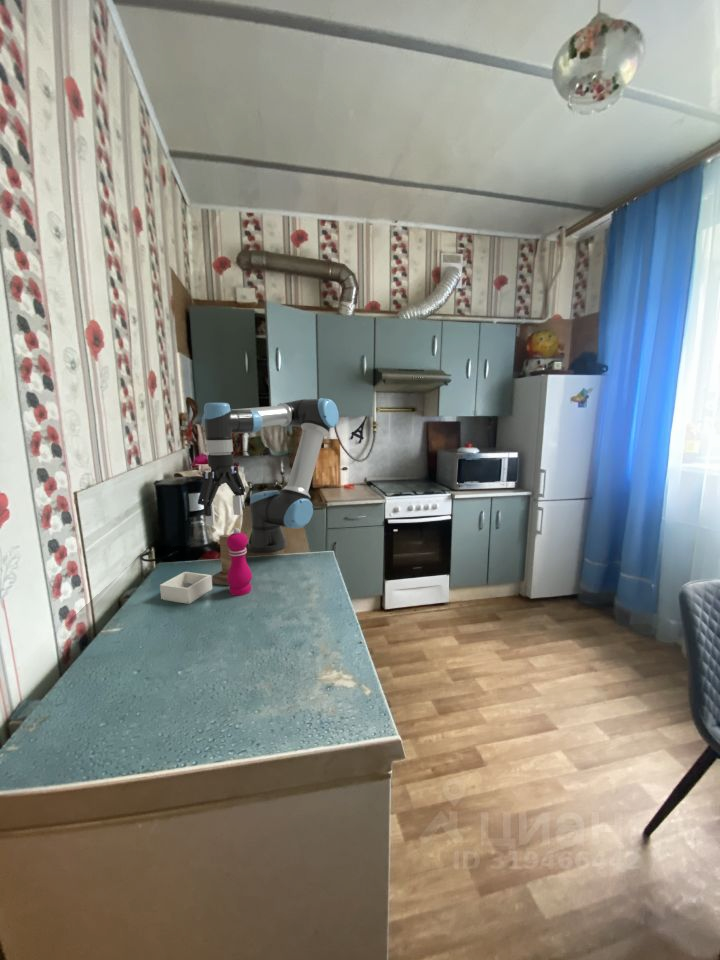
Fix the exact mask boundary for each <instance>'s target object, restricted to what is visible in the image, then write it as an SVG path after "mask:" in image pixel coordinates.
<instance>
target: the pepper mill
mask: <svg viewBox="0 0 720 960" xmlns="http://www.w3.org/2000/svg"><path fill="white" fill-rule="evenodd" d="M248 542H249V540H248V537H247V535H246V534H245V533H243V532H241V531H240V529H239V528H238V527H235V528H234V529H233V533H232V534H229V537H228V539H227V546H228V547H229V548H230V550H229V552H230V553H229V554H230V555H231V567H230V569H229V572H228V576H227V581H228V583H229V584H230V585H231V586H230V585H229V593H230V595H232V596H235V597H236V596H243V595H247V594H249V593H250V592H251V591H252V585H251V583H250V582H252V580H253V575H252V569H250V567H249V565H248V562H247V559H246V554H247V552H248V551H247V546H248Z"/></svg>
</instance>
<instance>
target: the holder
mask: <svg viewBox="0 0 720 960" xmlns="http://www.w3.org/2000/svg"><path fill="white" fill-rule="evenodd" d="M227 576H228V575H227V574H222V570H220V571H218V572H216V573H215V574H213V575H212V584H216V583H217V584H216V585H225V586H229V587H230V586H231V585H230V584H229V583H228V581H227Z"/></svg>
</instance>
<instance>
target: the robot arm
mask: <svg viewBox="0 0 720 960" xmlns="http://www.w3.org/2000/svg"><path fill="white" fill-rule="evenodd" d="M230 406H231V405H230V404H229V403H228V402H207V403H205V404H204V407H203V415H202V417H201V425H202V427H203V429H204V431H205V440H206V452H207V453H208V455H207V457H206V458H207V466H208V467H209V468H210V471H203V477H202V483H201V488H200V492H199V496H198V499H197V505H200V506H203V514H204V517H205V526H206V527H215V526H216V516H215V505H214V504H213V502H214V499H215V496H216V495H217V492H218V490H219V487H221V486H222V485H223V484H226V485H227V486H228V488H229V490H231V492H232V493H233V495H232V507H233V515H234V516H242V515H243V509H242V508H243V507H242V503H243V502H242V496H245V492H246V489H245V485H244V483H243V481H242V478H241V475H240V473H239V467H238V466H234V465H235V464H234V463H235V462H234V454H232V452H234V445H233V444H234V443H233V434H254V433H258V432H259V431H261V430H262V428H264V427H272V426H281V427H299V428H301V430H302V435H301V437H300V440H299V444H298V447H297V450H296V455H295V458H294V461H293V465H292V468H291V470H290V474H289V478H288V481H287V483H286V486H285V487H283V488H282V489H281V490H280V491H279V490H277V489H275V490H273V489H272V490H264V491H263V490H262V491H259V492H255V493H252V494H251V495H250V497H249V498H250V499H249V508H250V519H251V521H250V523H251V531H250V532H251V533H250V535H249V540H248V543H247V547H248V550H249V551H250V552H254V553H258V554H259V553H262V554H263V553H264V554H266V553H272V552H273V553H274V552H277V551H280V550H283V549H284V548H285V547H286V546H287V539H286V537H285V534H284V532H283V530H282V527H285V528H289V529H302V528H303V527H305V526H306V525H308V523H309V522H310V521H311V519H312V517H313V514H314V508H313V503H312V501H311V495H310V493H309V490H310V487H311V483H312V479H313V476H314V472H315V469H316V465H317V461H318V458H319V454H320V451H321V447H322V444H323V441H324V437H326V436H328V435H329V434H330V433H329V432H330V429H332V428H335V427H336V426H338V422H339V417H340V415H339V410H338V407H337V405H336V403H335V402H334V401H333V400H332V399H330V398H323V397H321V398H310V399H309V398H307V399H306V398H305V399H297V400H292V401H288V402H280V403H278V404H277V405H273V406H272V405H271V406H270V405H269V406H259V407H249V408H245V407H244V408H236V409H235V408H234V409H233V408H231V407H230Z"/></svg>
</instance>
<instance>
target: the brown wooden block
mask: <svg viewBox="0 0 720 960" xmlns="http://www.w3.org/2000/svg"><path fill="white" fill-rule="evenodd" d="M229 536H230V534H229V535H227V534H222V535H219V548H220V549H219V550H220V559H221V561H220V563H221V571H222V574H227V575H228V572H229V569H230V567H231V555H230V554H229V553H230V552H229V550H230V548H229V547H228V546H227V539H228V537H229Z"/></svg>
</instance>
